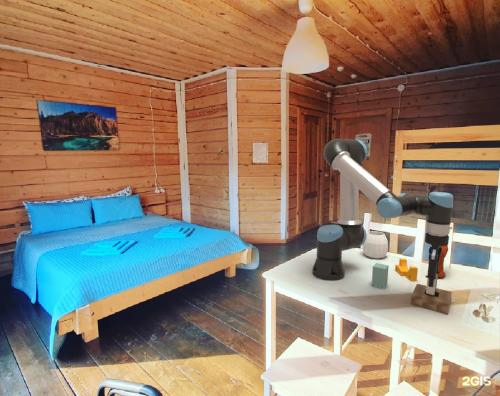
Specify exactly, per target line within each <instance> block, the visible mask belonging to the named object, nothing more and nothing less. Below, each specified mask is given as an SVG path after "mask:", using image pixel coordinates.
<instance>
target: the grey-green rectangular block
mask: <svg viewBox="0 0 500 396" xmlns="http://www.w3.org/2000/svg"><path fill="white" fill-rule="evenodd" d="M371 272H372V276H371V287H376V288H379V289H383V290H385V289H386V287H387V286H388V279H389V265H388V264H383V263H378V262H375V264H374V265H372V271H371Z"/></svg>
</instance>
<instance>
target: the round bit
mask: <svg viewBox="0 0 500 396" xmlns="http://www.w3.org/2000/svg"><path fill="white" fill-rule="evenodd" d="M438 278H439V277H438V275H437V274H436V284H435V293H434V295H431V294H427V293H426V294H427V295H431V296H435V297H436V288H438V287H437V286H438V280H439V279H438Z"/></svg>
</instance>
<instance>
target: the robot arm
mask: <svg viewBox="0 0 500 396" xmlns="http://www.w3.org/2000/svg"><path fill="white" fill-rule="evenodd" d="M367 157H368V148H367V145H366V144H365V143H364V142H363V141H362V140H360V139H356V138H355V139H354V138H334V139H332V140H330V141H329V142H327V144H325V147H324V149H323V158H324V160H325V163H327V165H328V166H330V168H331V169H332V170H334V171H338V172H339V173H340V175H339V177H340V180H339V181H340V183H339V186H340V187H339V189H340V194H339V195H340V196H339V199H340V200H339V201H340V205H339V206H340V207H339V209H340V212H339V215H340V217H339V219H338V220H337V221H336V223H337V224H326V225H322V226H320V227H318V229H317V232H316V233H317V235H316V259H315V260H314V264H313V266H312V274H313V275H314V277H316V278H318V279H321V280H325V281H339V280H342V279H344V278H345V277H346V270H345V267H344V263H343V260H342V258H343V251H347V250H352V249H356V248H358V247H361V246H363V244H364V242H365V240H366V236H367V231H366V230H367V229H365V227H364V226H363V224H362V223H363V222H362V221H361V220H360V218H359V212H360V211H359V207H360V206H359V202H360V201H359V200H360V199H359V198H360V195H359V191H361V193H363V194H364V195H365V196H366V197H367V198H368V199H369V200H370V201H371V202H372V203H374V204H375V205H376V210H377V212H378V215H379V216H380V217H381V218H384V219H396V218H398V217H403V216H408V215H412V214H413V215H419V216H426V225H425V231H426V232H425V233H424V234H425V235H424V242H425V243H426V244H427V245H430V246H429V248H428V268H427V275H425V278H426V280H427V281H426V286H427V287H426V293H427V294H431V295H434V293H435V284H436V273H437V275H438V274H440V272H439V271H438V270H439V260H440V257H441V253H442V248H441V246H447V245H448V246H449V243H450V242H449V241H450V236H449V235H450V232H451V230H452V229H453V226H451V223H452V216H453V215H452V214H453V208H454V195H453V194H452V193H449V192H443V191H442V192H441V191H432V192H430V193H429V195H427V196H426V195H420V194H412V193H405V192H404V193H402V192H401V193H400V194H399V195H396V194H395V193H394V192H393V191H391V190H390V189H389V188H387V186H385V184H383V183H382V182H380V181H379V180H378V179H377V178H375V176H373V175H372V174H371V173H370V172H369V171H367V169H365V168H364V167H363V163H364V162H365V161H366V159H367Z"/></svg>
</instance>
